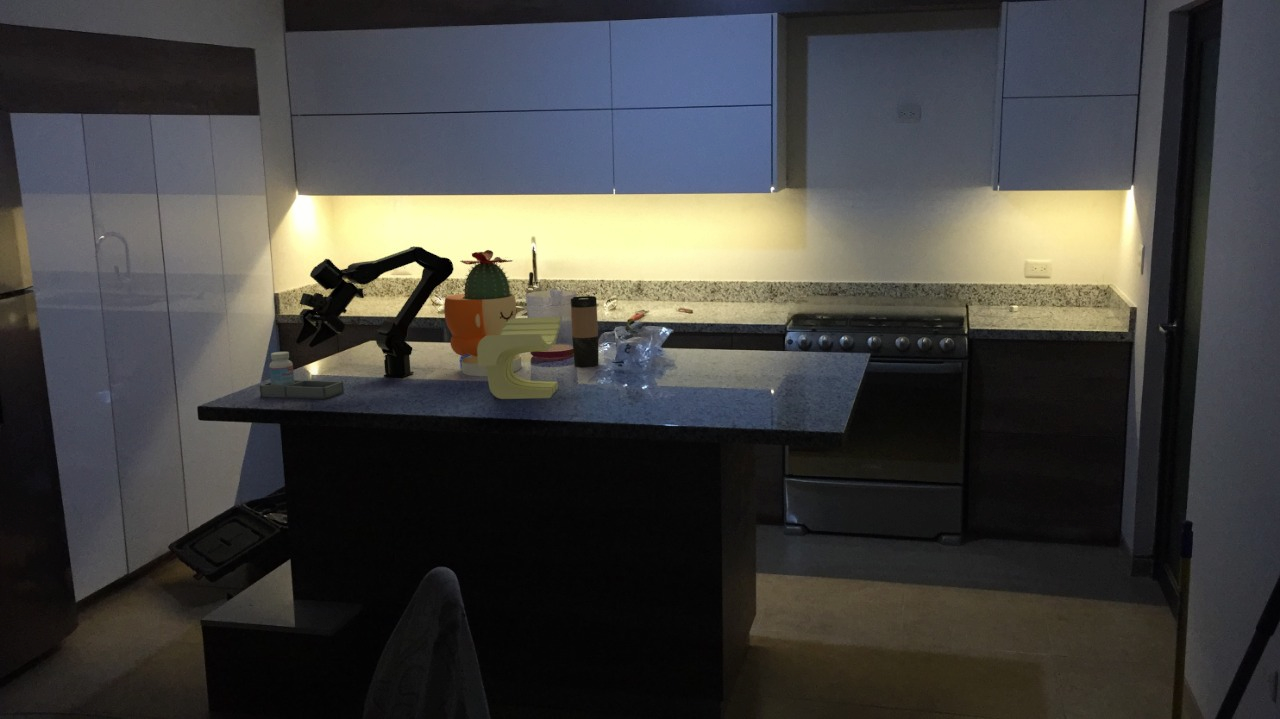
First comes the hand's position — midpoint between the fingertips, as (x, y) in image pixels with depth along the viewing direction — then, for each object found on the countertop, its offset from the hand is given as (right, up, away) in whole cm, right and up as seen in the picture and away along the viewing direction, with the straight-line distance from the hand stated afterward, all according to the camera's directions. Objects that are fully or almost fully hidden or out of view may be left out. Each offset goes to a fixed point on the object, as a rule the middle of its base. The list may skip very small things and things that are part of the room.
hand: (303, 344), depth 300 cm
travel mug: (+76, -6, +25) cm, 80 cm away
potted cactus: (+46, -7, +24) cm, 52 cm away
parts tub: (+1, -13, -4) cm, 14 cm away
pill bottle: (-5, -14, -2) cm, 14 cm away
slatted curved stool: (+62, -13, -13) cm, 64 cm away
